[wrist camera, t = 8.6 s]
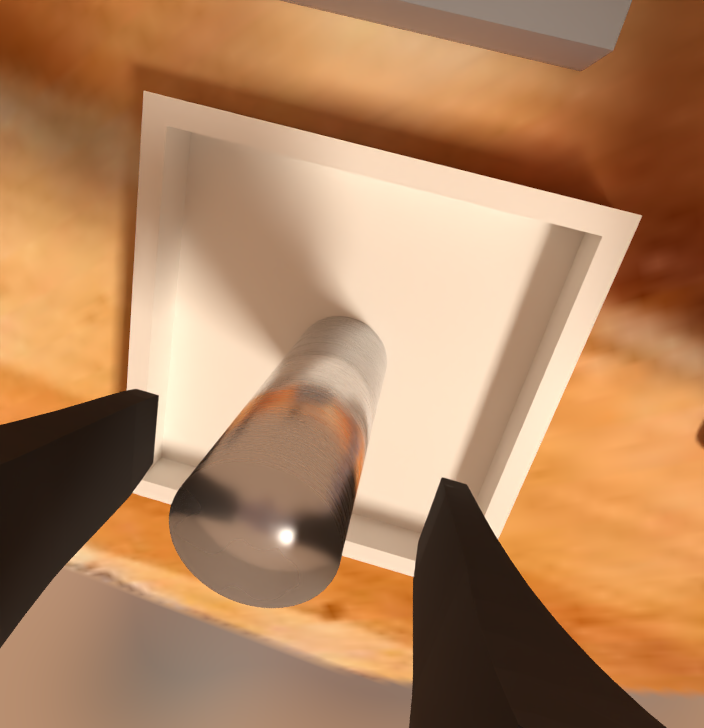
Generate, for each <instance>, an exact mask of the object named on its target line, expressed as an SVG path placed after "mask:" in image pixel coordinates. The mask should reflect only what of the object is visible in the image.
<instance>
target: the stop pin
mask: <svg viewBox="0 0 704 728" xmlns="http://www.w3.org/2000/svg"><path fill="white" fill-rule="evenodd" d="M386 368H387V355H386V351H385V348H384V345H383V343H382V341H381V339H380V338H379V336H378V335H377V334H376V333H375V332H374V330H373V329H371V328H370V327H369V326H368V325H366V324H365V323H363V322H361V321H359V320H357V319H354V318H351V317H346V316H332V317H327V318H324V319H321V320H319V321H317V322H315V323H314V324H312V325H311V326H310V327H309V328H308V329H307V330H306V331H305V332H304V333H303V335H302V336H301V337H300V338H299V340H298V341H297V342H296V343H295V345H294V346H293V347H292V348H291V350H290V351H289V352H288V353H287V355H286V356H285V357H284V358H283V359H282V361H281V362H280V363H279V364H278V366H277V367H276V368H275V369H274V371H273V372H272V373H271V374H270V376H269V377H268V378H267V379H266V381H265V382H264V383H263V384H262V386H261V387H260V388H259V389H258V391H257V392H256V393H255V394H254V396H253V397H252V398H251V399H250V401H249V402H248V403H247V404H246V406H245V407H244V408H243V409H242V411H241V412H240V413H239V414H238V416H237V417H236V418H235V419H234V421H233V422H232V423H231V424H230V426H229V427H228V428H227V429H226V431H225V432H224V433H223V434H222V436H221V437H220V438H219V439H218V441H217V442H216V443H215V444H214V446H213V447H212V448H211V449H210V451H209V452H208V453H207V454H206V456H205V457H204V458H203V459H202V461H201V462H200V463H199V464H198V466H197V467H196V468H195V469H194V471H193V472H192V473H191V474H190V476H189V477H188V478H187V479H186V481H185V482H184V483H183V484H182V486H181V487H180V488H179V490H178V491H177V493H176V495H175V496H174V499H173V501H172V504H171V508H170V513H169V528H170V534H171V538H172V542H173V544H174V546H175V549H176V551H177V553H178V555H179V556H180V558H181V560H182V561H183V563H184V564H185V565H186V567H187V568H188V569H189V570H190V571H191V572H192V574H193V575H194V576H195V577H197V578H198V579H199V580H200V581H201V582H202V583H203V584H205V585H206V586H208V587H209V588H210V589H212V590H213V591H215V592H217V593H218V594H220V595H222V596H224V597H226V598H228V599H231V600H233V601H236V602H239V603H242V604H246V605H250V606H255V607H262V608H283V607H289V606H294V605H297V604H301V603H303V602H306V601H308V600H310V599H312V598H314V597H315V596H317V595H318V594H320V593H321V592H322V591H323V590H324V589H326V587H327V586H328V585H329V584H330V583H331V581H332V580H333V578H334V577H335V575H336V573H337V570H338V568H339V565H340V561H341V557H342V552H343V548H344V544H345V540H346V536H347V532H348V527H349V523H350V519H351V515H352V511H353V506H354V502H355V498H356V494H357V490H358V486H359V481H360V477H361V473H362V469H363V465H364V461H365V456H366V452H367V448H368V444H369V440H370V436H371V431H372V427H373V423H374V419H375V415H376V411H377V406H378V402H379V398H380V394H381V390H382V386H383V381H384V377H385V373H386Z"/></svg>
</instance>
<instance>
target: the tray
mask: <svg viewBox="0 0 704 728" xmlns="http://www.w3.org/2000/svg"><path fill="white" fill-rule="evenodd" d="M641 218H642V215H639V214H635V213H631V212H627V211H623V210H619V209H615V208H611V207H607V206H603V205H599V204H595V203H591V202H587V201H583V200H579V199H575V198H571V197H567V196H563V195H559V194H555V193H551V192H547V191H543V190H539V189H535V188H531V187H527V186H523V185H519V184H515V183H511V182H507V181H503V180H499V179H495V178H491V177H487V176H483V175H479V174H475V173H471V172H467V171H463V170H459V169H455V168H451V167H447V166H443V165H439V164H435V163H431V162H427V161H423V160H419V159H415V158H411V157H407V156H403V155H399V154H395V153H391V152H387V151H383V150H379V149H375V148H371V147H367V146H363V145H359V144H355V143H351V142H347V141H343V140H339V139H335V138H331V137H327V136H323V135H319V134H315V133H311V132H307V131H303V130H299V129H295V128H291V127H287V126H283V125H279V124H275V123H271V122H267V121H263V120H259V119H255V118H251V117H247V116H243V115H239V114H235V113H231V112H227V111H223V110H219V109H216V108H212V107H208V106H204V105H200V104H196V103H192V102H188V101H184V100H180V99H176V98H172V97H168V96H164V95H160V94H156V93H152V92H148V91H144V92H143V110H142V128H141V145H140V163H139V181H138V199H137V217H136V234H135V252H134V270H133V288H132V306H131V323H130V341H129V359H128V377H127V390H132V389H139V390H142V391H146V392H149V393H153V394H156V395H159V401H158V413H157V425H156V436H155V448H154V460H153V464H152V466H151V467H150V469H149V470H148V471H147V473H146V474H145V476H144V477H143V479H142V480H141V482H140V483H139V484H138V486H137V487H136V488H135V490H134V491H133V492H132V493H134V494H138V495H141V496H144V497H148V498H151V499H154V500H158V501H161V502H165V503H168V504H172V501H173V499H174V496H175V495H176V493H177V491H178V490H179V488H180V487H181V486H182V484H183V483H184V482H185V481H186V479H187V478H188V477H189V476H190V474H191V473H192V472H193V471H194V469H195V468H196V467H197V466H198V464H199V463H200V462H201V461H202V459H203V458H204V457H205V456H206V454H207V453H208V452H209V451H210V449H211V448H212V447H213V446H214V444H215V443H216V442H217V441H218V439H219V438H220V437H221V436H222V434H223V433H224V432H225V431H226V429H227V428H228V427H229V426H230V424H231V423H232V422H233V421H234V419H235V418H236V417H237V416H238V414H239V413H240V412H241V411H242V409H243V408H244V407H245V406H246V404H247V403H248V402H249V401H250V399H251V398H252V397H253V396H254V394H255V393H256V392H257V391H258V389H259V388H260V387H261V386H262V384H263V383H264V382H265V381H266V379H267V378H268V377H269V376H270V374H271V373H272V372H273V371H274V369H275V368H276V367H277V366H278V364H279V363H280V362H281V361H282V359H283V358H284V357H285V356H286V355H287V353H288V352H289V351H290V350H291V348H292V347H293V346H294V345H295V343H296V342H297V341H298V340H299V338H300V337H301V336H302V335H303V333H304V332H305V331H306V330H307V329H308V328H309V327H310V326H311V325H312V324H314V323H315V322H317V321H319V320H321V319H324V318H327V317H332V316H346V317H351V318H354V319H357V320H359V321H361V322H363V323H365V324H366V325H368V326H369V327H370V328H371V329H373V330H374V332H375V333H376V334H377V335H378V336H379V338H380V339H381V341H382V343H383V345H384V348H385V351H386V355H387V368H386V373H385V377H384V381H383V386H382V390H381V394H380V398H379V402H378V406H377V411H376V415H375V419H374V423H373V427H372V431H371V436H370V440H369V444H368V448H367V452H366V456H365V461H364V465H363V469H362V473H361V477H360V481H359V486H358V490H357V494H356V498H355V502H354V506H353V511H352V515H351V519H350V523H349V527H348V532H347V536H346V540H345V544H344V548H343V552H342V556H345V557H349V558H352V559H355V560H359V561H362V562H366V563H369V564H372V565H376V566H379V567H382V568H386V569H389V570H392V571H396V572H399V573H402V574H406V575H409V576H412V577H414V570H415V561H416V554H417V546H418V541H419V538H420V535H421V533H422V530H423V527H424V524H425V522H426V519H427V516H428V513H429V511H430V508H431V505H432V502H433V500H434V497H435V494H436V491H437V489H438V486H439V483H440V481H441V478H442V477H444V478H447V479H450V480H454V481H457V482H461V483H464V484H467V486H468V487H469V489H470V491H471V493H472V495H473V496H474V498H475V500H476V502H477V504H478V506H479V507H480V509H481V511H482V513H483V515H484V517H485V518H486V520H487V522H488V524H489V525H490V527H491V529H492V531H493V532H494V534H495V536H496V537H497V539H498V538H499V536H500V534H501V531H502V529H503V527H504V525H505V522H506V520H507V518H508V516H509V514H510V511H511V509H512V507H513V505H514V502H515V500H516V498H517V496H518V493H519V491H520V489H521V487H522V484H523V482H524V480H525V478H526V475H527V473H528V471H529V469H530V466H531V464H532V462H533V460H534V457H535V455H536V453H537V451H538V448H539V446H540V444H541V442H542V440H543V437H544V435H545V433H546V431H547V428H548V426H549V424H550V422H551V419H552V417H553V415H554V413H555V410H556V408H557V406H558V404H559V401H560V399H561V397H562V395H563V392H564V390H565V388H566V386H567V383H568V381H569V379H570V377H571V374H572V372H573V370H574V368H575V366H576V363H577V361H578V359H579V357H580V354H581V352H582V350H583V348H584V345H585V343H586V341H587V339H588V336H589V334H590V332H591V330H592V327H593V325H594V323H595V321H596V318H597V316H598V314H599V312H600V309H601V307H602V305H603V303H604V301H605V298H606V296H607V294H608V292H609V289H610V287H611V285H612V283H613V280H614V278H615V276H616V274H617V271H618V269H619V267H620V265H621V262H622V260H623V258H624V256H625V253H626V251H627V249H628V247H629V244H630V242H631V240H632V238H633V235H634V233H635V231H636V229H637V227H638V224H639V222H640V220H641Z"/></svg>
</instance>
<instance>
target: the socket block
mask: <svg viewBox="0 0 704 728" xmlns="http://www.w3.org/2000/svg"><path fill="white" fill-rule="evenodd" d="M281 1H285V2H289V3H294V4H298V5H302V6H306V7H311V8H315V9H319V10H323V11H327V12H332V13H336V14H340V15H344V16H349V17H353V18H357V19H361V20H366V21H370V22H374V23H378V24H383V25H387V26H391V27H395V28H399V29H404V30H408V31H412V32H416V33H421V34H425V35H429V36H433V37H438V38H442V39H446V40H450V41H455V42H459V43H463V44H467V45H471V46H476V47H480V48H484V49H488V50H493V51H497V52H501V53H505V54H510V55H514V56H518V57H522V58H527V59H531V60H535V61H539V62H543V63H548V64H552V65H556V66H560V67H565V68H569V69H573V70H577V71H583V70H584V69H586V68H587V67H589V66H590V65H592V64H593V63H595V62H596V61H598V60H599V59H601V58H602V57H604V56H606V55H607V54H609V53H610V52H612V51H613V50H614V47H615V45H616V42H617V39H618V37H619V34H620V31H621V29H622V26H623V23H624V21H625V18H626V15H627V13H628V10H629V8H630V5H631V2H632V0H281Z"/></svg>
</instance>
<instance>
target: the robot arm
mask: <svg viewBox="0 0 704 728" xmlns="http://www.w3.org/2000/svg"><path fill="white" fill-rule="evenodd" d="M158 401H159V395H156V394H153V393H149V392H146V391H142V390H139V389H132V390H127V391H123V392H119V393H116V394H112V395H108V396H105V397H102V398H98V399H95V400H91V401H88V402H85V403H81V404H78V405H74V406H71V407H68V408H64V409H61V410H57V411H54V412H50V413H46V414H42V415H38V416H34V417H31V418H27V419H23V420H19V421H15V422H11V423H7V424H3V425H0V648H1V646H2V645H3V644H4V642H5V641H6V639H7V638H8V637H9V636H10V634H11V633H12V631H13V630H14V629H15V627H16V626H17V625H18V623H19V622H20V621H21V619H22V618H23V617H24V615H25V614H26V613H27V611H28V610H29V609H30V608H31V606H32V605H33V604H34V602H35V601H36V600H37V599H38V597H39V596H40V595H41V593H42V592H43V591H44V590H45V588H46V587H47V586H48V584H49V583H50V582H51V581H52V579H53V578H54V577H55V576H56V574H58V573H59V571H60V570H61V569H62V568H63V567H64V566H65V564H66V563H67V562H68V561H69V560H70V559H71V558H72V557H73V556H74V555H75V554H76V553H77V552H78V551H79V550H80V549H81V548H82V546H83V545H84V544H85V543H86V542H87V541H88V540H89V539H90V538H91V537H92V536H93V535H94V534H95V533H96V532H97V531H98V530H99V529H100V527H101V526H102V525H103V524H104V523H105V522H106V521H107V520H108V519H109V518H110V517H111V516H112V515H113V514H114V513H115V512H116V510H117V509H118V508H119V507H120V506H121V505H122V504H123V503H124V502H125V501H126V500H127V498H128V497H129V496H130V495H131V494H132V492H133V491H134V490H135V488H136V487H137V486H138V484H139V483H140V482H141V480H142V479H143V477H144V476H145V474H146V473H147V471H148V470H149V469H150V467H151V466H152V464H153V460H154V448H155V436H156V425H157V413H158ZM409 728H666V727H665V726H663V724H661V723H660V722H659V721H658V720H657V719H655V718H654V717H653V716H652V715H650V714H649V713H648V712H647V711H646V710H645V709H644V708H643V707H641V706H640V705H639V704H638V703H637V702H636V701H635V700H634V699H633V698H632V697H631V696H629V695H628V694H627V693H626V692H625V691H624V690H623V689H622V688H621V687H620V686H619V685H618V684H617V683H615V682H614V681H613V680H612V679H611V678H610V677H609V676H608V675H607V674H606V673H605V672H604V671H603V670H602V669H601V668H600V667H599V666H598V665H597V664H596V663H595V662H594V661H593V660H592V659H591V658H590V657H589V656H588V655H587V654H586V653H585V651H584V650H583V649H582V648H581V647H580V646H579V645H578V644H577V643H576V642H575V641H574V640H573V639H572V638H571V637H570V636H569V634H568V633H567V632H566V631H565V630H564V629H563V628H562V626H561V625H560V624H559V623H558V622H557V621H556V620H555V618H554V617H553V616H552V615H551V613H550V612H549V611H548V610H547V608H546V607H545V606H544V605H543V604H542V602H541V601H540V600H539V599H538V597H537V596H536V595H535V594H534V592H533V591H532V590H531V588H530V587H529V586H528V584H527V583H526V581H525V580H524V579H523V577H522V576H521V574H520V573H519V571H518V570H517V568H516V567H515V566H514V564H513V563H512V561H511V560H510V558H509V557H508V555H507V553H506V552H505V550H504V549H503V547H502V546H501V544H500V542H499V541H498V539H497V537H496V536H495V534H494V532H493V531H492V529H491V527H490V525H489V524H488V522H487V520H486V518H485V517H484V515H483V513H482V511H481V509H480V507H479V506H478V504H477V502H476V500H475V498H474V496H473V495H472V493H471V491H470V489H469V487H468V486H467V484H464V483H461V482H457V481H454V480H450V479H447V478H444V477H442V478H441V481H440V483H439V486H438V489H437V491H436V494H435V497H434V500H433V502H432V505H431V508H430V511H429V513H428V516H427V519H426V522H425V524H424V527H423V530H422V533H421V535H420V538H419V541H418V546H417V554H416V561H415V570H414V578H413V689H412V703H411V714H410V724H409Z"/></svg>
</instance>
